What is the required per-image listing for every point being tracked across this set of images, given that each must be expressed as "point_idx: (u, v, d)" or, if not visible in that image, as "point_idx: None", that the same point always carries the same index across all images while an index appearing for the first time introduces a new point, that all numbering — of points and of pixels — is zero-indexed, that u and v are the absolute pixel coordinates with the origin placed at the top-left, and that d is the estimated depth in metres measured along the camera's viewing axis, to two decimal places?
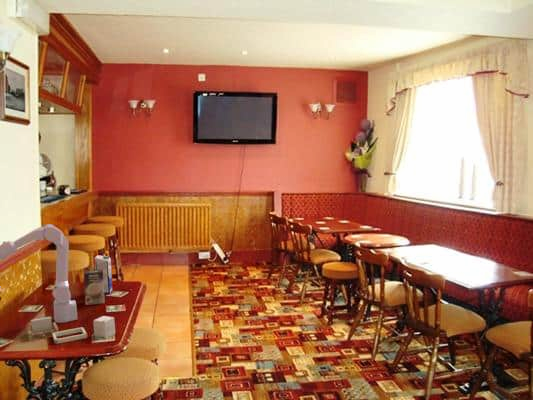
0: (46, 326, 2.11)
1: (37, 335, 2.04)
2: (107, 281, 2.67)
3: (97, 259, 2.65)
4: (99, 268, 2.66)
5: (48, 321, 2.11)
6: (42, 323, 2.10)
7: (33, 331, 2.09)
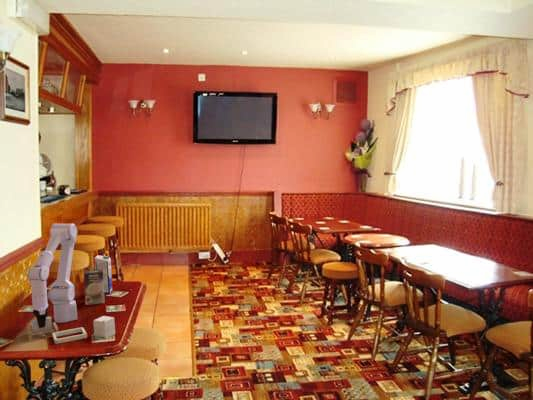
0: (46, 326, 2.11)
1: (37, 335, 2.04)
2: (107, 281, 2.67)
3: (97, 259, 2.65)
4: (99, 268, 2.66)
5: (48, 321, 2.11)
6: None
7: (33, 331, 2.09)
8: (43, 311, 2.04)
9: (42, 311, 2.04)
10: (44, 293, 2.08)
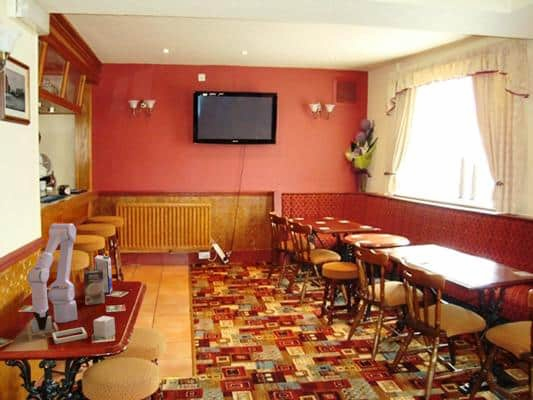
0: (46, 326, 2.11)
1: (37, 335, 2.04)
2: (107, 281, 2.67)
3: (97, 259, 2.65)
4: (99, 268, 2.66)
5: (48, 321, 2.11)
6: None
7: (33, 331, 2.09)
8: (43, 313, 2.04)
9: (42, 313, 2.04)
10: (44, 295, 2.09)
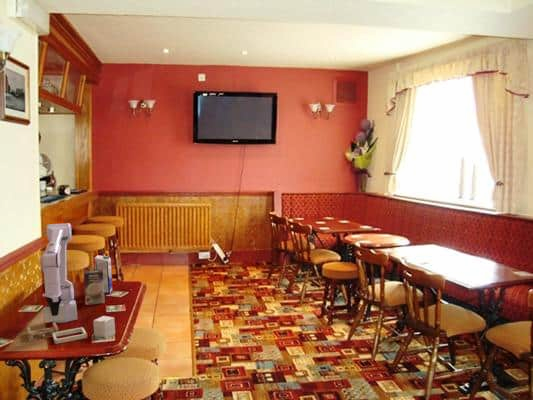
0: (59, 314, 2.08)
1: (37, 335, 2.04)
2: (107, 281, 2.67)
3: (97, 259, 2.65)
4: (99, 268, 2.66)
5: (61, 309, 2.08)
6: None
7: (46, 319, 2.05)
8: (56, 298, 2.00)
9: (55, 298, 2.00)
10: (59, 280, 2.06)
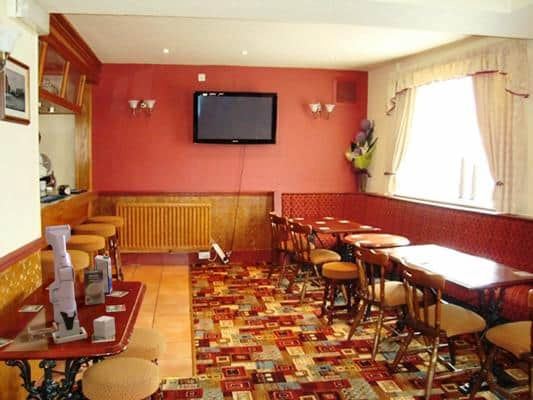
0: (74, 330, 2.06)
1: (37, 335, 2.04)
2: (107, 281, 2.67)
3: (97, 259, 2.65)
4: (99, 268, 2.66)
5: (76, 325, 2.06)
6: None
7: (61, 335, 2.03)
8: (71, 313, 1.98)
9: (70, 313, 1.98)
10: None
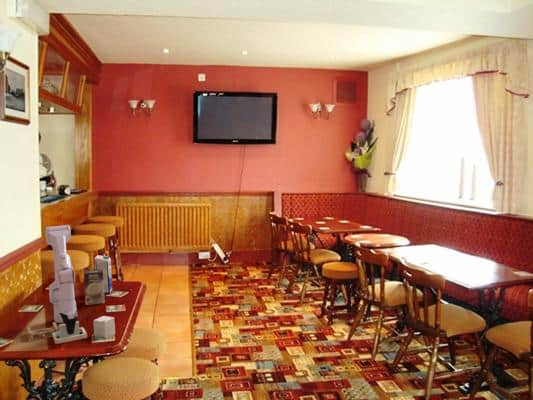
0: (74, 331, 2.06)
1: (37, 335, 2.04)
2: (107, 281, 2.67)
3: (97, 259, 2.65)
4: (99, 268, 2.66)
5: (76, 326, 2.06)
6: None
7: (60, 336, 2.03)
8: (72, 315, 1.98)
9: (71, 315, 1.98)
10: (74, 295, 2.05)
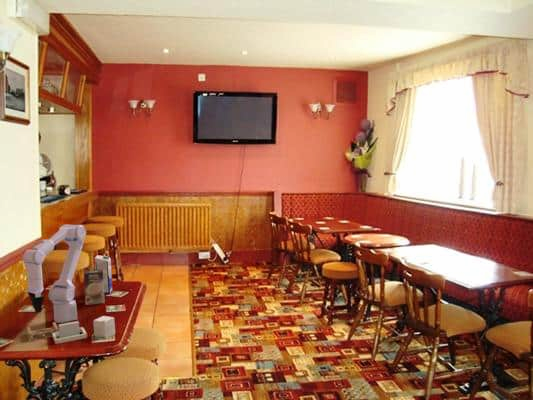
0: (74, 331, 2.06)
1: (37, 335, 2.04)
2: (107, 281, 2.67)
3: (97, 259, 2.65)
4: (99, 268, 2.66)
5: (76, 326, 2.06)
6: (70, 328, 2.05)
7: (60, 336, 2.03)
8: (39, 294, 2.05)
9: (38, 294, 2.05)
10: (39, 276, 2.09)
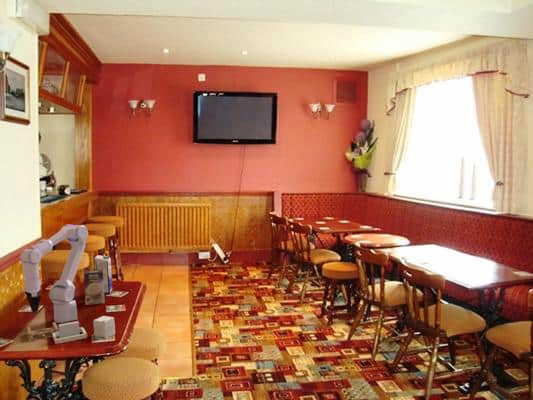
0: (74, 331, 2.06)
1: (37, 335, 2.04)
2: (107, 281, 2.67)
3: (97, 259, 2.65)
4: (99, 268, 2.66)
5: (76, 326, 2.06)
6: (70, 328, 2.05)
7: (60, 336, 2.03)
8: (35, 293, 2.06)
9: (34, 293, 2.06)
10: (35, 276, 2.09)
